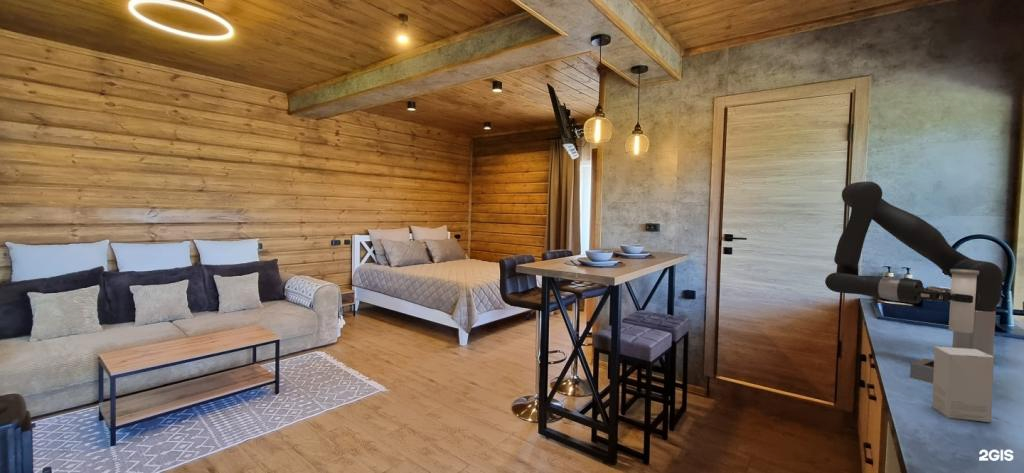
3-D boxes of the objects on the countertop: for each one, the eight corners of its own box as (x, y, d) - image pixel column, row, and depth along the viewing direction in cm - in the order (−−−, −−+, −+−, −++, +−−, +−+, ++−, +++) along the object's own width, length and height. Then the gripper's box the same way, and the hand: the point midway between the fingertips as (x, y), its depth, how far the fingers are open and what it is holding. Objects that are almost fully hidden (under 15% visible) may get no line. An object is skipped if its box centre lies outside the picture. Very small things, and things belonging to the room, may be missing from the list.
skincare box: (973, 411, 103) (977, 348, 102) (993, 424, 97) (998, 357, 96) (929, 406, 106) (933, 344, 105) (946, 418, 100) (950, 352, 99)
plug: (950, 327, 130) (954, 268, 129) (978, 331, 125) (982, 270, 124) (943, 329, 127) (947, 269, 126) (971, 334, 122) (975, 271, 121)
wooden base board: (938, 367, 134) (939, 351, 134) (989, 379, 124) (990, 362, 124) (908, 380, 123) (908, 363, 122) (961, 394, 113) (962, 376, 113)
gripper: (891, 279, 134) (968, 287, 119) (909, 276, 141) (984, 284, 126) (890, 303, 134) (967, 314, 119) (908, 299, 141) (983, 309, 127)
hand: (975, 298), depth 123 cm, fingers closed on plug, 5 cm apart
